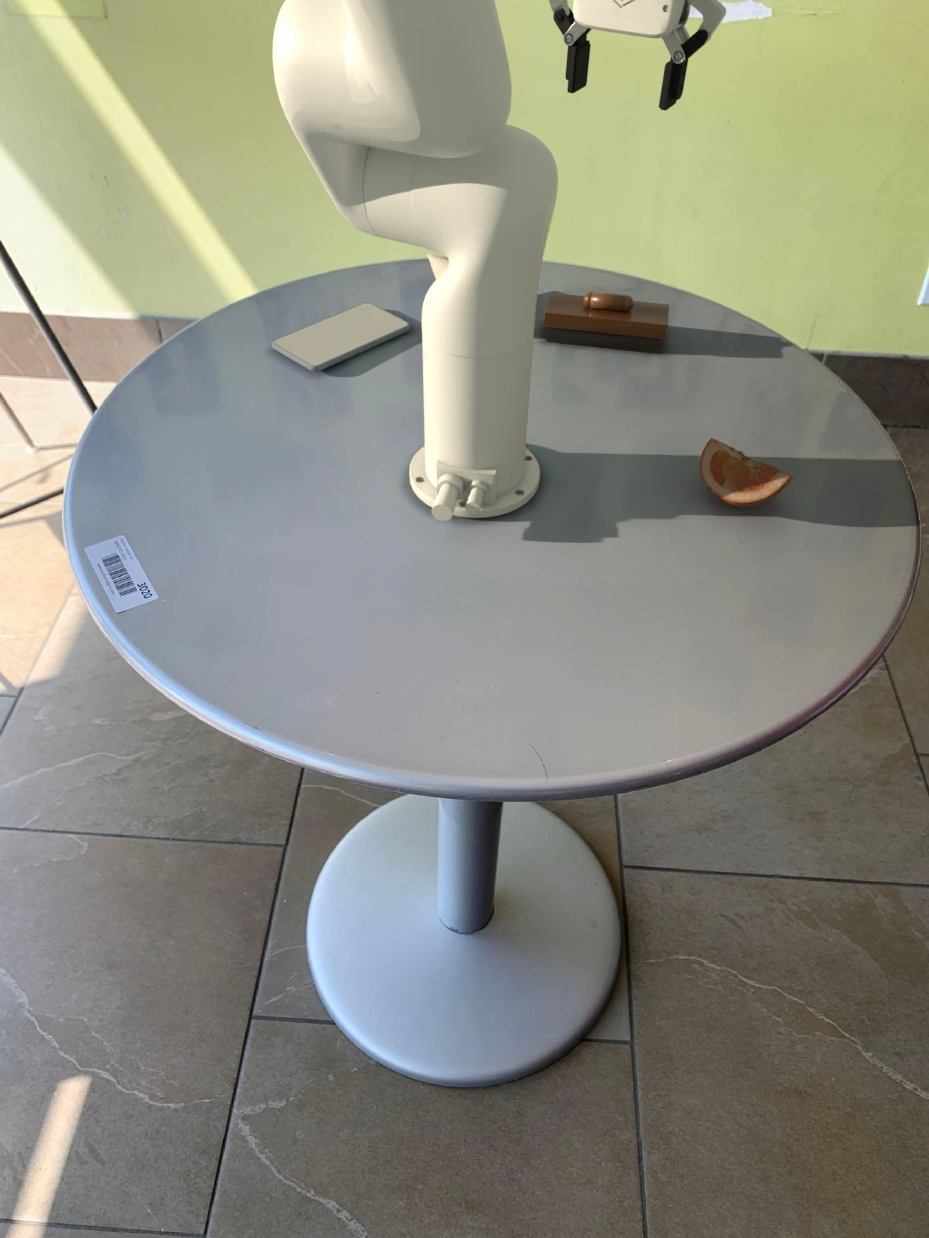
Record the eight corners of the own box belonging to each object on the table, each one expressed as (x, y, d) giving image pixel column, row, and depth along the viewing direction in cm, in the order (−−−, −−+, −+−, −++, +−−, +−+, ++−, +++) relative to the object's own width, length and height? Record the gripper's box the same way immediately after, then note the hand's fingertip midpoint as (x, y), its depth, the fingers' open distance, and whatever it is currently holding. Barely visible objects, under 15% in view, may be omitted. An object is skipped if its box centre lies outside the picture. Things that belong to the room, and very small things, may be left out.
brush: (662, 355, 105) (670, 310, 101) (542, 342, 106) (545, 298, 102) (663, 334, 108) (671, 290, 104) (547, 322, 110) (551, 278, 106)
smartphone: (413, 324, 107) (314, 368, 100) (413, 331, 108) (314, 376, 100) (366, 300, 111) (267, 341, 104) (367, 307, 112) (269, 349, 104)
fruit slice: (793, 501, 86) (807, 458, 82) (757, 535, 82) (772, 491, 79) (716, 465, 90) (727, 423, 86) (679, 496, 86) (689, 453, 83)
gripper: (538, -130, 78) (525, 93, 90) (734, -112, 72) (691, 124, 84) (576, -138, 82) (558, 75, 94) (762, -122, 76) (718, 103, 88)
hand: (621, 98), depth 89 cm, fingers open, 9 cm apart
